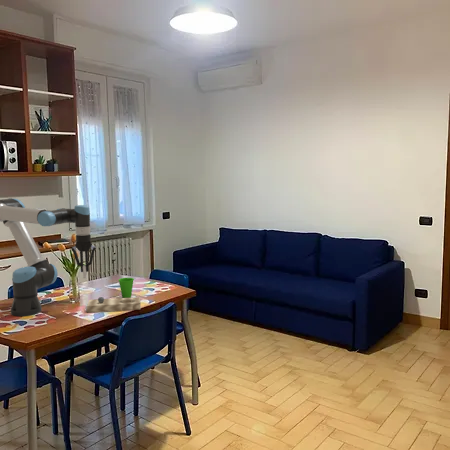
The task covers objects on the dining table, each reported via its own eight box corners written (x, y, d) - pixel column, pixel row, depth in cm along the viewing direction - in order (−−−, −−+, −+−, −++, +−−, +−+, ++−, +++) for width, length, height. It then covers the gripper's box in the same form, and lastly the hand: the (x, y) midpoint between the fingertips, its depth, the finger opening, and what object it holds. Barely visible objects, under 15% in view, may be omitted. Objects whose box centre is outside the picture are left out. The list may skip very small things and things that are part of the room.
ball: (97, 303, 251) (97, 298, 251) (98, 302, 254) (98, 296, 254) (103, 303, 252) (103, 297, 251) (104, 301, 255) (104, 296, 254)
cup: (115, 298, 273) (115, 280, 272) (125, 294, 281) (125, 277, 280) (127, 300, 269) (127, 282, 268) (137, 296, 277) (137, 278, 276)
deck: (87, 312, 247) (86, 306, 247) (89, 305, 259) (89, 299, 259) (140, 309, 252) (140, 303, 252) (140, 303, 264) (140, 297, 264)
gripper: (69, 235, 242) (71, 280, 245) (95, 234, 244) (97, 278, 247) (71, 233, 249) (73, 276, 252) (96, 232, 251) (98, 275, 254)
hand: (85, 277), depth 250 cm, fingers closed
